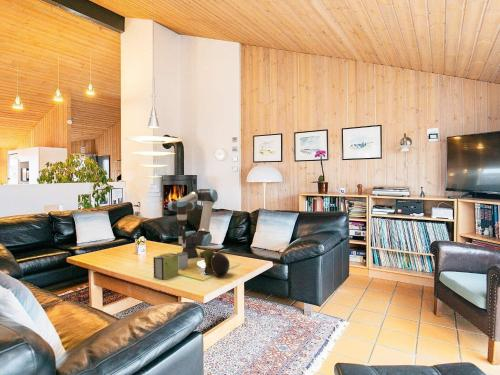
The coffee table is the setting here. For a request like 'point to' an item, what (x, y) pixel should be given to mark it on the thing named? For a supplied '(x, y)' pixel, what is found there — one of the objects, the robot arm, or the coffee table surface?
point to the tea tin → (182, 260)
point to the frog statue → (215, 262)
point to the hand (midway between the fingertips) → (182, 245)
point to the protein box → (165, 266)
